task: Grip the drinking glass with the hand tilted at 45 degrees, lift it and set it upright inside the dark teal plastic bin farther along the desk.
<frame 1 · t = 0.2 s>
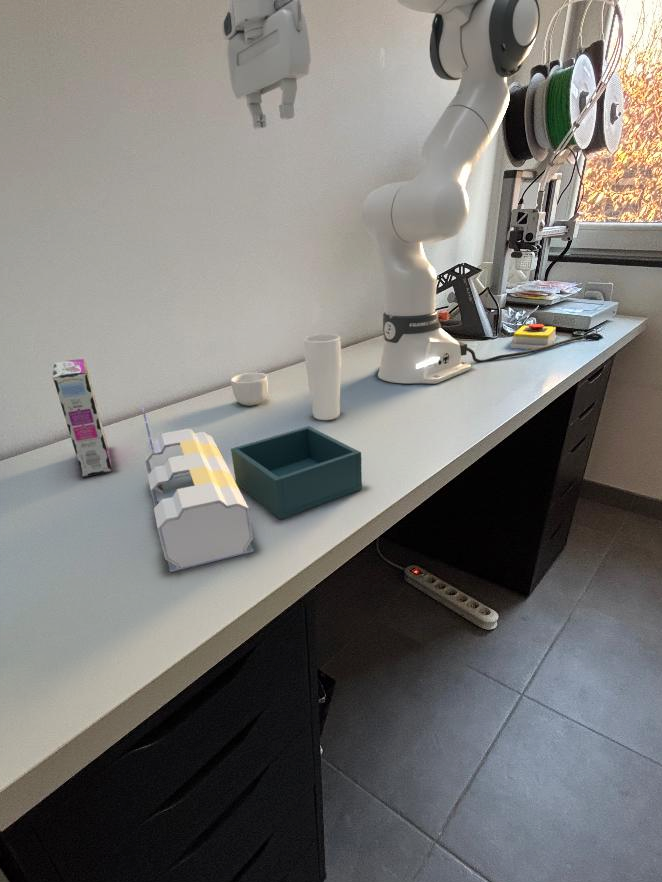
hand: (273, 123, 87), 48 cm above the table, tool pointing down, fingers open, 8 cm apart
teacup: (255, 401, 115), on the table
candy bar box: (97, 463, 90), on the table
drinking glass: (326, 417, 104), on the table
bin: (297, 486, 78), on the table
emergency button: (533, 343, 145), on the table
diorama: (197, 514, 73), on the table
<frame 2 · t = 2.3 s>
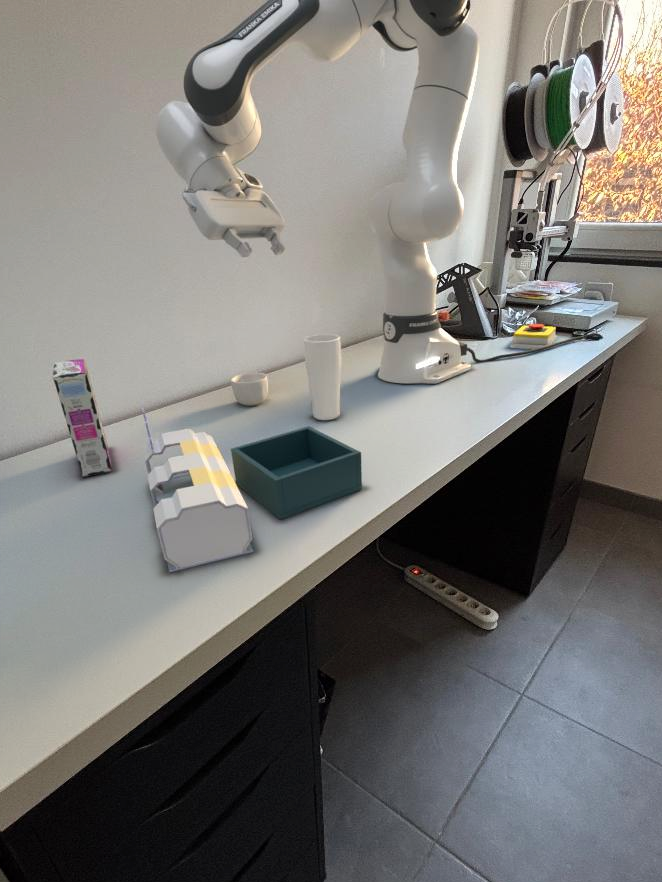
hand: (265, 253, 96), 29 cm above the table, tool tilted 40°, fingers open, 8 cm apart
nothing on the table moved.
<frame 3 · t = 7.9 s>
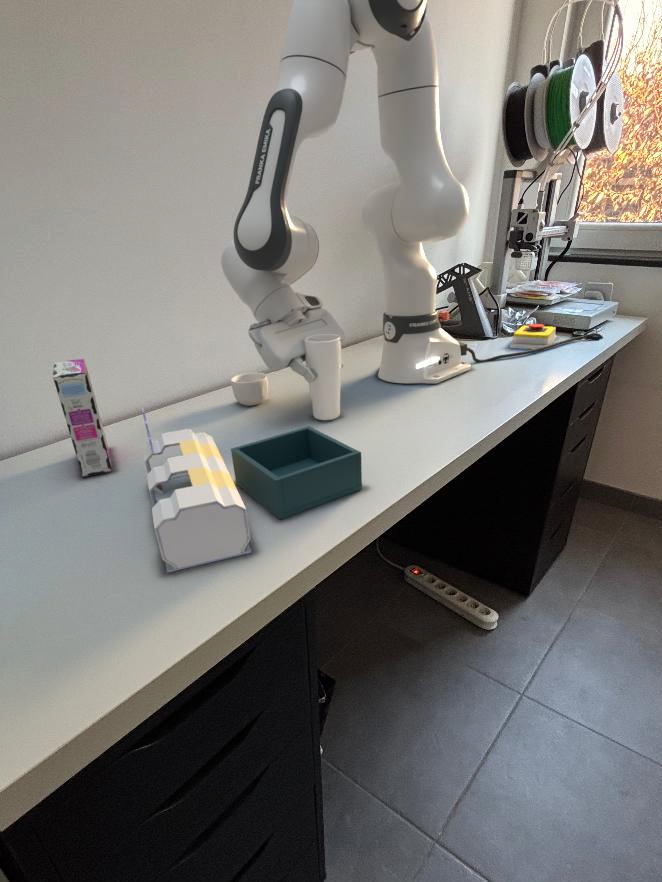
hand: (326, 374, 99), 8 cm above the table, tool tilted 45°, fingers closed on drinking glass, 6 cm apart
drinking glass: (326, 417, 104), on the table, touching gripper
everything else where it was.
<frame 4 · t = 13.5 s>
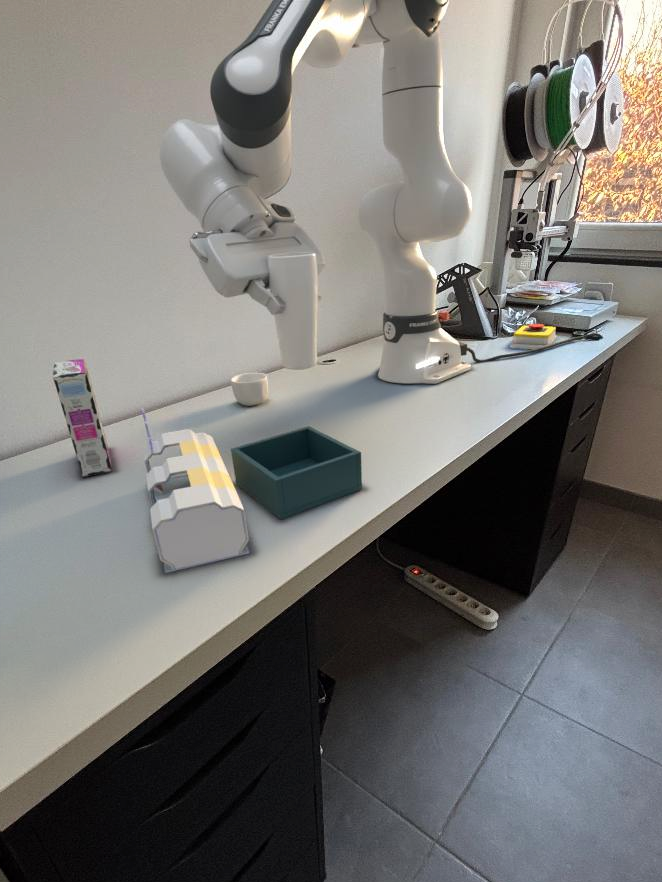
hand: (298, 306, 74), 24 cm above the table, tool tilted 45°, fingers closed on drinking glass, 6 cm apart
drinking glass: (299, 367, 79), point 15 cm above the table, touching gripper
everything else where it was.
when the fingers open (9 cm above the table, at t = 19.2 s): drinking glass stays where it is, resting on bin.
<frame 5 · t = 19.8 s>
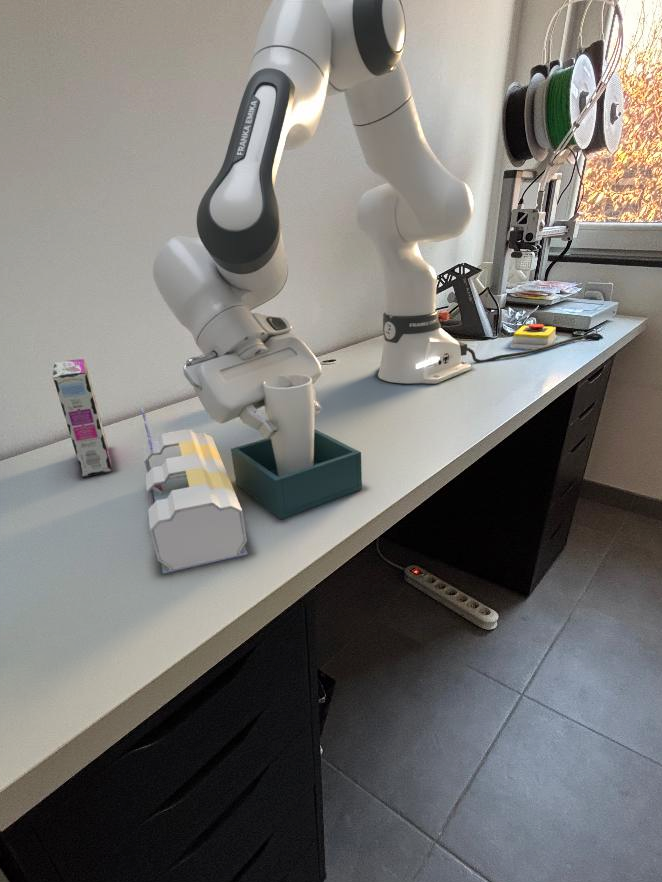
hand: (295, 424, 73), 10 cm above the table, tool tilted 45°, fingers open, 8 cm apart
drinking glass: (296, 482, 78), point 1 cm above the table, touching bin
everything else where it was.
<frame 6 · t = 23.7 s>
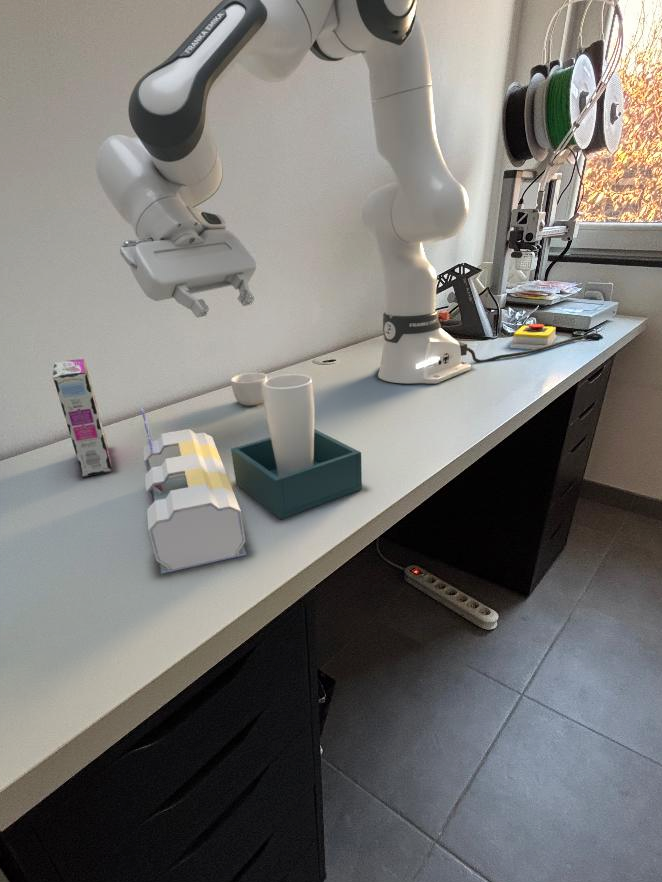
hand: (227, 308, 80), 23 cm above the table, tool tilted 45°, fingers open, 8 cm apart
nothing on the table moved.
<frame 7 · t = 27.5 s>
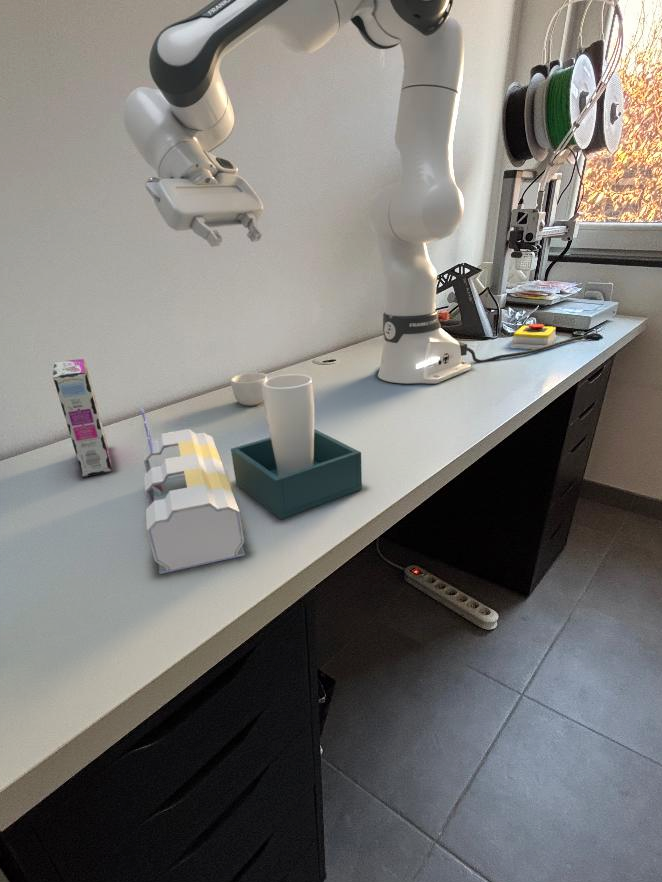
hand: (238, 241, 90), 31 cm above the table, tool tilted 45°, fingers open, 8 cm apart
nothing on the table moved.
at the end: drinking glass inside the target area in the bin (0.1 cm from its centre), point 0.6 cm above the bin's base; drinking glass tilted 0°; the gripper is holding nothing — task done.
